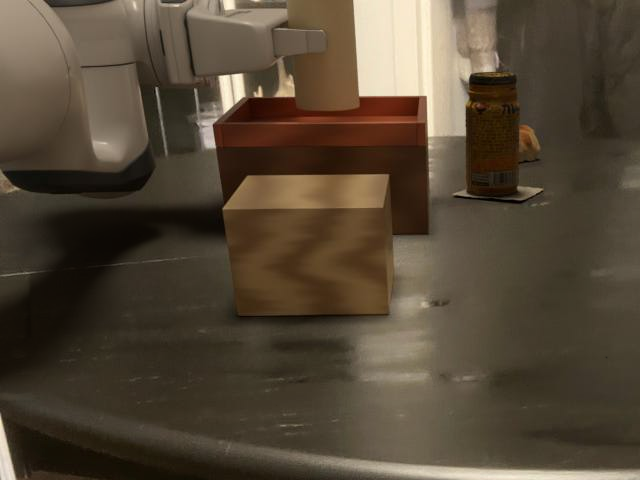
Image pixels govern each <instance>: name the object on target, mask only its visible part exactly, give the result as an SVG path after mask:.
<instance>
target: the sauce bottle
mask: <svg viewBox="0 0 640 480" xmlns="http://www.w3.org/2000/svg"><path fill="white" fill-rule="evenodd" d="M354 2H355V1H354V0H286V1H285V3H286V9H287V15H288V26H289V29H298V30H324V31H326V33H327V42H328V48H327V50H326V51H325V52H323V53H305V54H297V55H290V57H291V58H290V59H291V66H292V67H291V68H292V78H293V88H294V90H293V91H294V97H295V100H296V107H297V108H299V109H302V110H309V111H342V110H350V109H355V108H358V107H359V106H360V103H359V96H360V89H359V88H360V87H359V71H358V70H359V69H358V56H357V53H358V52H357V39H356V23H355V22H356V20H355V3H354Z"/></svg>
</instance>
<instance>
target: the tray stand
mask: <svg viewBox="0 0 640 480" xmlns="http://www.w3.org/2000/svg"><path fill="white" fill-rule="evenodd" d="M359 103H360V106H359V107H358V108H355V109H350V110H342V111H309V110H302V109H299V108H297V107H296V100H295V96H243V97H241V98H240V99H238V101H237V102H236V103H235V104H233V106H231V107H229V109H228V110H226V111H225V112H224V113H223V114H222V115H221V116H220V117H219V118H218V119H216V121H214V122H213V123H212V131H213V138H214V145H215V146H214V147H215V152H216V159H217V164H218V172H219V179H220V185H221V186H220V187H221V194H222V200H223V207H224V206H225V205H226V203H227V202H228V201H229V199H230V198H231V197H232V195H233V194H234V193H235V191H236V190H237V189H238V187H239V186H240V185H241V184H242V182H243V181H244V180H245V178H246V177H247V176H261V175H373V174H389V177H390V196H391V216H392V235H428V234H429V233H430V202H431V201H430V200H431V199H430V198H431V197H430V196H431V192H430V188H431V187H430V161H429V160H430V158H429V123H428V121H429V120H428V96H427V95H359Z"/></svg>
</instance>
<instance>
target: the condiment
mask: <svg viewBox="0 0 640 480" xmlns="http://www.w3.org/2000/svg"><path fill="white" fill-rule="evenodd" d="M517 82H518V78H517V75H516V74H515V73H513V72H504V71H479V72H473V73H470V75H469V77H468V85H469V86H468V93H467V94H468V95H469V98H468V101H466V104H465V113H464V114H465V119H464V120H465V125H464V126H465V141H464V142H465V165H464V166H465V182H466V183H465V184H466V187H467V188H465V189H462V190H460V191H456V192H454V193H452V196H460V197H467V198H476V199H477V198H480V199H495V200H505V201H507V200H514V201H524V200H527V199H529V198H531V197H533V196H534V197H535V196H536V195H537V194H538V193H541V191H543V190H544V188H540V187H531V186H521V185H519V182H520V179H519V176H520V174H519V170H520V168H519V166H520V165H519V163H520V162H519V126H520V123H521V122H520V119H521V118H520V117H521V116H520V114H521V112H520V111H521V108H520V102H519V101H518V89H517Z"/></svg>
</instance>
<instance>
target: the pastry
mask: <svg viewBox="0 0 640 480" xmlns="http://www.w3.org/2000/svg"><path fill="white" fill-rule="evenodd" d="M540 154H541V146H540V144H539V139H538V138H537V137H536V135H535V131H534V129H533V128H531V127H530V126H528V125H525V124H520V125H519V163H524V161H527V162H533V161H535V160H537V159H538V156H539V155H540Z"/></svg>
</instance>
